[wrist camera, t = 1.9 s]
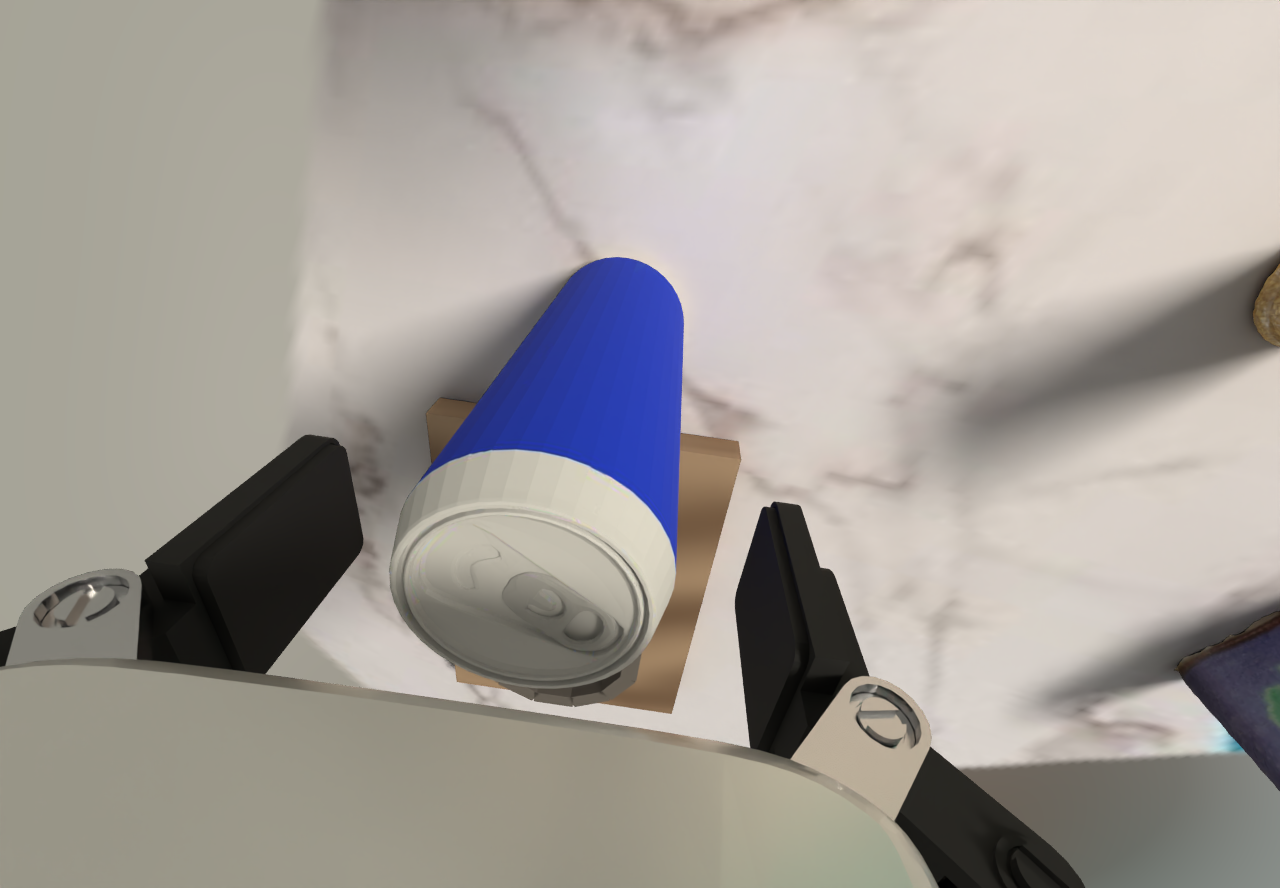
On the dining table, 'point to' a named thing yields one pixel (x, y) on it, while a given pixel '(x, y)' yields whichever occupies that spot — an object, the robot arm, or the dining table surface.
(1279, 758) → the flask
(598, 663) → the beverage can
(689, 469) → the cup holder
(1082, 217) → the dining table surface
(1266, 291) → the sprinkles bottle
